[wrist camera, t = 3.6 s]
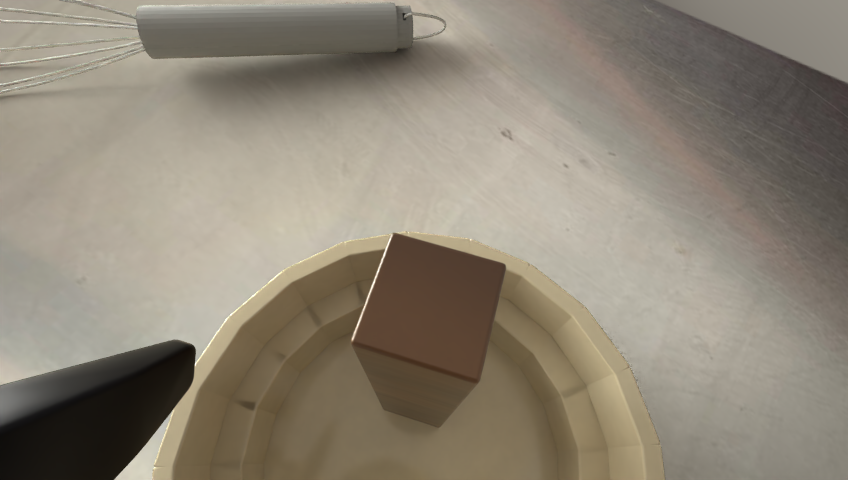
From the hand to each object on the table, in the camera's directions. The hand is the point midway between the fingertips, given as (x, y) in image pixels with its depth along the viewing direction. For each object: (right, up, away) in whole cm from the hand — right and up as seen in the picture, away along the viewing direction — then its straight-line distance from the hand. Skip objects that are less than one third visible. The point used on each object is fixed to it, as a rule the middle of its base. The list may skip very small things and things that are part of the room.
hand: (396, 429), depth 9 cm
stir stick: (0, -2, +9) cm, 10 cm away
